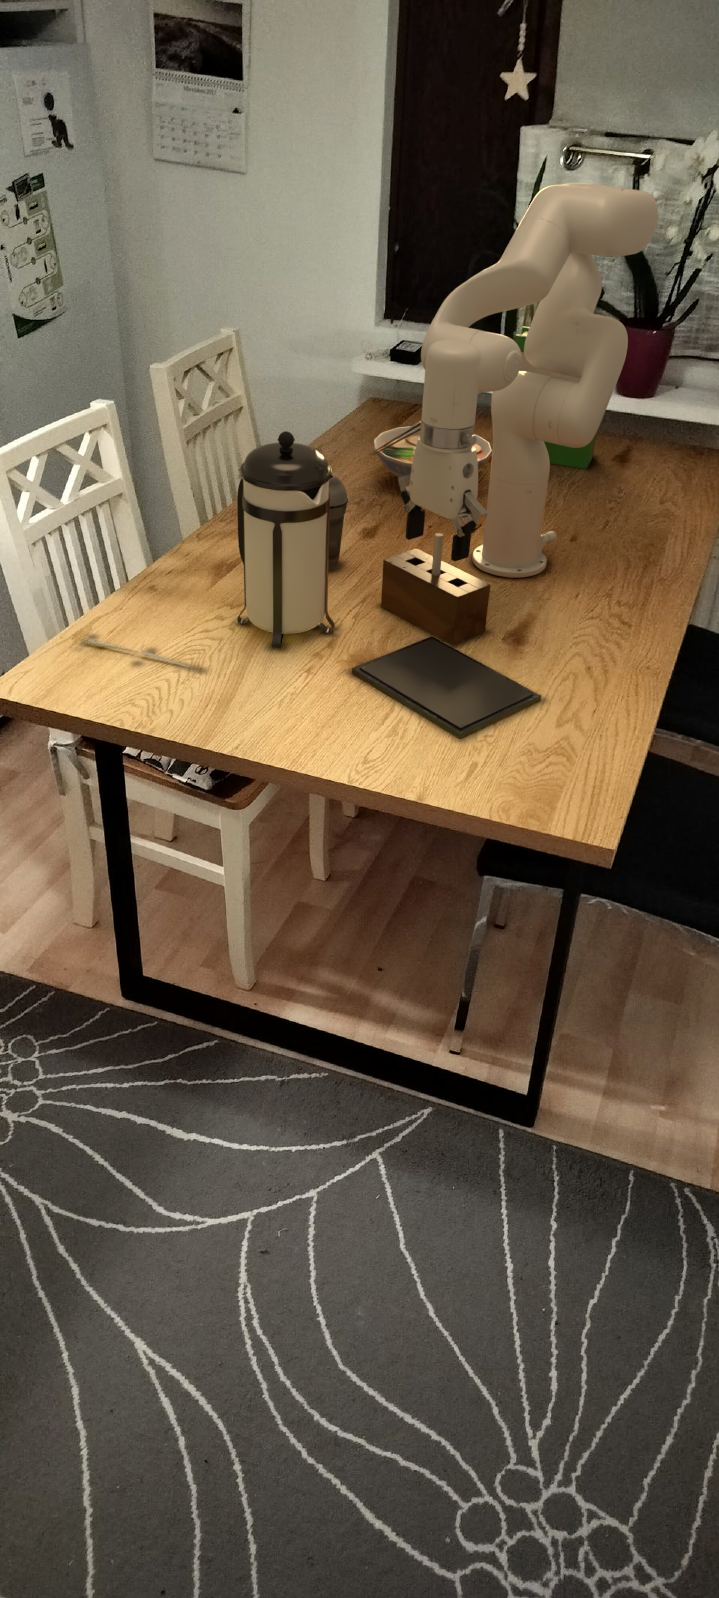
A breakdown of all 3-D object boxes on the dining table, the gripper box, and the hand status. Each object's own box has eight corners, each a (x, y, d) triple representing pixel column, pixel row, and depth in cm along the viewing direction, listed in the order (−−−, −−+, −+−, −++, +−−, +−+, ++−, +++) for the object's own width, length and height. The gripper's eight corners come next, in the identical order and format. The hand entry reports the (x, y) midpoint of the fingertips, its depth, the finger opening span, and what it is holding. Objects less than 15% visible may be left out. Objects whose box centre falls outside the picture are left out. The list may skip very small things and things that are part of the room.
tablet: (351, 672, 170) (351, 666, 170) (431, 640, 179) (431, 634, 179) (460, 739, 157) (460, 732, 157) (540, 700, 166) (541, 694, 166)
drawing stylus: (432, 616, 186) (439, 532, 178) (438, 619, 185) (445, 534, 177) (426, 618, 185) (432, 534, 177) (432, 621, 184) (439, 536, 176)
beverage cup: (341, 577, 196) (344, 458, 184) (298, 571, 197) (299, 453, 185) (350, 559, 202) (354, 443, 190) (308, 554, 203) (310, 438, 191)
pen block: (412, 594, 192) (416, 548, 187) (485, 632, 182) (490, 584, 177) (380, 606, 188) (383, 559, 183) (453, 645, 178) (457, 597, 174)
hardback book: (501, 455, 245) (514, 335, 231) (509, 444, 251) (523, 325, 237) (586, 468, 241) (604, 346, 227) (592, 456, 247) (611, 337, 233)
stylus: (194, 670, 167) (77, 642, 172) (194, 676, 168) (77, 648, 173) (207, 657, 170) (92, 630, 176) (207, 663, 171) (92, 636, 176)
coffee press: (346, 609, 187) (353, 418, 169) (321, 656, 174) (325, 455, 156) (241, 594, 190) (236, 405, 172) (208, 640, 177) (199, 441, 159)
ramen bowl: (451, 515, 219) (455, 472, 214) (346, 487, 228) (347, 445, 223) (510, 476, 236) (515, 435, 231) (410, 451, 245) (413, 411, 241)
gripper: (509, 446, 165) (496, 561, 175) (423, 413, 175) (415, 523, 185) (472, 456, 161) (460, 573, 170) (386, 422, 171) (379, 534, 181)
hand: (436, 547), depth 178 cm, fingers open, 9 cm apart
